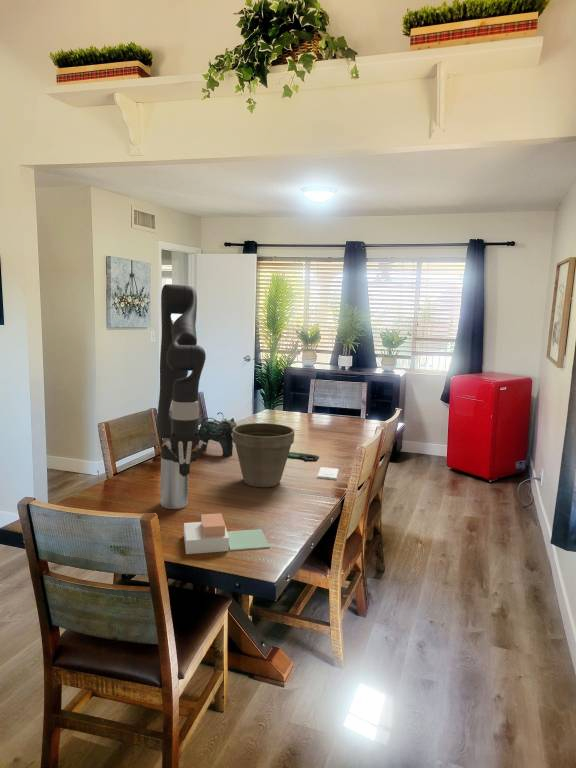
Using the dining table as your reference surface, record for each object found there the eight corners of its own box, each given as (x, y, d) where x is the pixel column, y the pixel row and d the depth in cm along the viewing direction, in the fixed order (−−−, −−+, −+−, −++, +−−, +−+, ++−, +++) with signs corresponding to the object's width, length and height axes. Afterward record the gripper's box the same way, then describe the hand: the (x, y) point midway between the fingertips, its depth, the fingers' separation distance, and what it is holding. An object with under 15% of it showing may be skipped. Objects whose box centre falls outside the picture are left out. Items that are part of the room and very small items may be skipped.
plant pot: (224, 473, 214) (226, 422, 210) (280, 469, 222) (282, 421, 219) (239, 494, 190) (240, 438, 187) (300, 489, 199) (303, 435, 195)
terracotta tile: (201, 523, 154) (201, 514, 154) (221, 522, 155) (221, 513, 155) (203, 537, 145) (204, 527, 145) (224, 535, 147) (225, 525, 146)
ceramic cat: (236, 455, 240) (238, 413, 237) (228, 458, 234) (230, 416, 232) (202, 448, 249) (203, 408, 246) (194, 451, 243) (195, 410, 241)
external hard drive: (338, 472, 224) (336, 481, 212) (319, 470, 225) (316, 479, 213) (338, 468, 224) (336, 477, 212) (320, 467, 225) (316, 475, 213)
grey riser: (183, 535, 155) (184, 522, 154) (223, 532, 158) (223, 520, 157) (186, 554, 143) (186, 540, 143) (228, 550, 146) (229, 537, 146)
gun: (281, 456, 238) (287, 451, 248) (281, 459, 238) (287, 453, 248) (315, 460, 234) (320, 455, 244) (315, 463, 234) (319, 457, 244)
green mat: (225, 532, 158) (225, 531, 158) (261, 530, 161) (261, 529, 161) (230, 550, 146) (230, 549, 146) (269, 547, 149) (269, 546, 149)
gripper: (207, 413, 149) (206, 470, 151) (160, 413, 145) (160, 472, 148) (210, 418, 141) (208, 479, 144) (161, 419, 138) (160, 481, 141)
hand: (184, 475), depth 146 cm, fingers closed
